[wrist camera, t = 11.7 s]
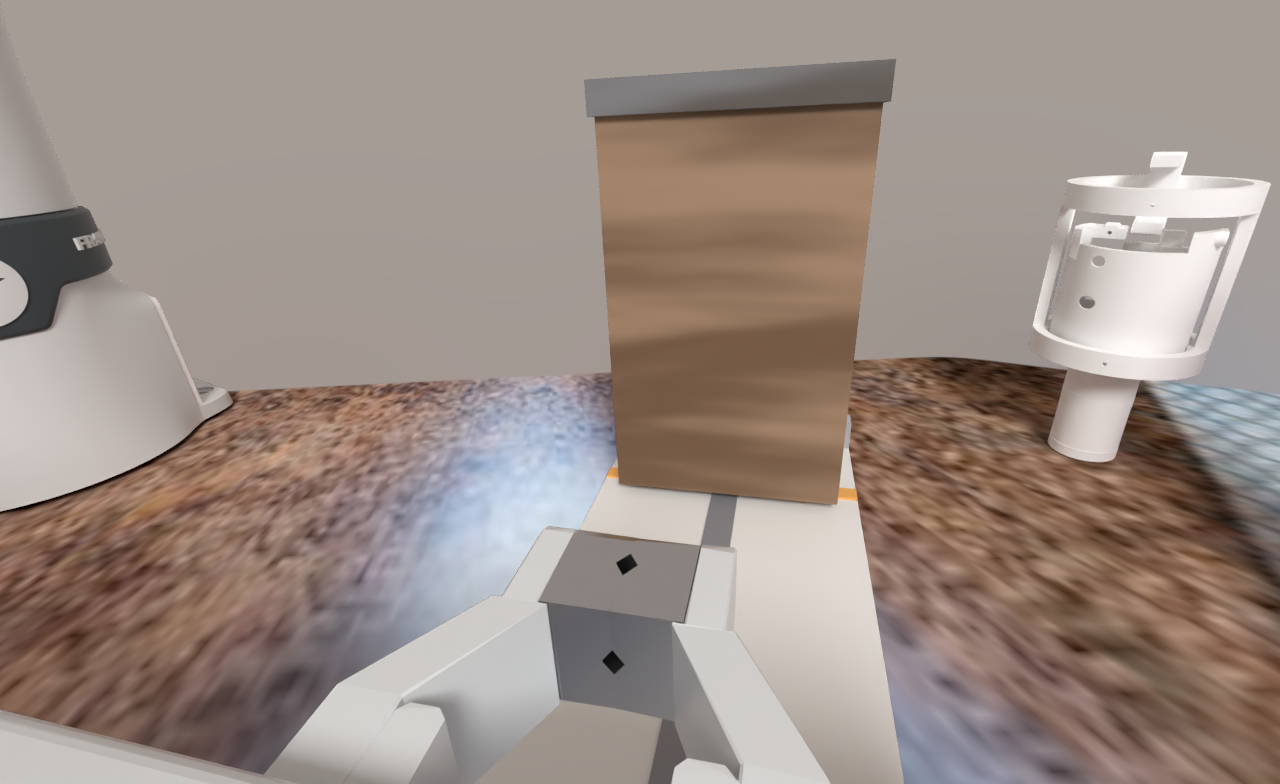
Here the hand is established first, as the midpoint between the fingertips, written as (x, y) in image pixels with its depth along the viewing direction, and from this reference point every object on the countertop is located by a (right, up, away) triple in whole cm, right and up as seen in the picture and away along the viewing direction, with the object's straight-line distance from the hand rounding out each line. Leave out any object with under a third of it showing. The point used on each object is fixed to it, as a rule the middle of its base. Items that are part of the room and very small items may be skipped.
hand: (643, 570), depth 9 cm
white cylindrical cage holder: (+24, 0, +23) cm, 34 cm away
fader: (+4, -1, +19) cm, 20 cm away
